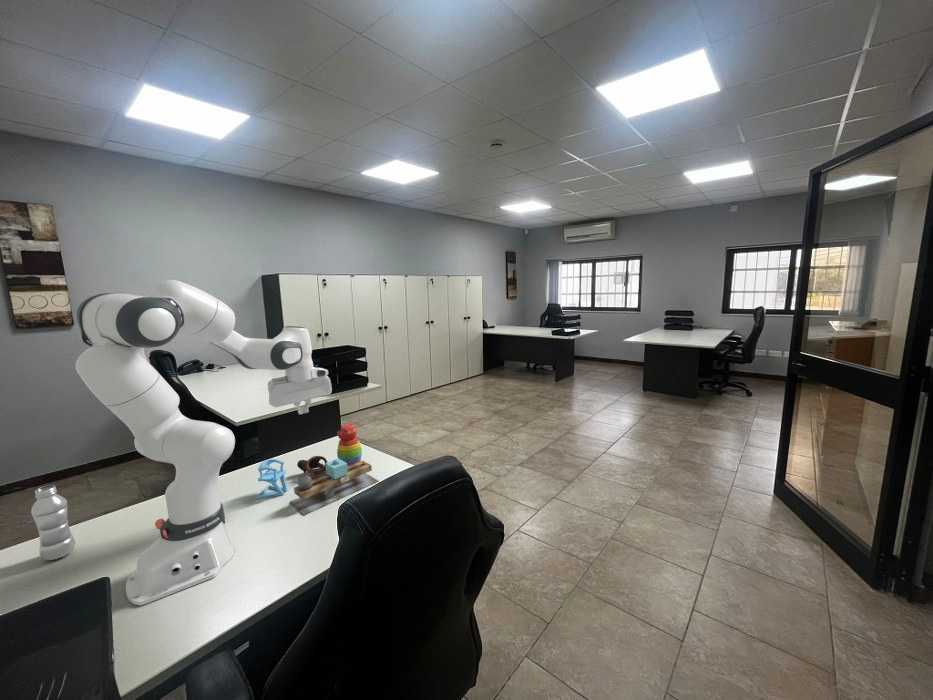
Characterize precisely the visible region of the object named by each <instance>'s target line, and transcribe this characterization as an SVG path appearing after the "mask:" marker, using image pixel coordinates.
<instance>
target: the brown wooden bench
mask: <svg viewBox="0 0 933 700" xmlns="http://www.w3.org/2000/svg"><path fill="white" fill-rule="evenodd" d="M372 469H373V468H372V465H371V464H369V462H368V463H367V462H366V461H364V460H361V461H360V462H358V463H355V464H353V465H350V466H348V474H347V475H344V476H342V477H340V478H337V479H333V478H332V479H331V477H330V476H329V475H327V474H326V475H323V476H322V475H321V476H319V477H316V478H314V479H313V480H311V477H309V476H302V477H299V479H298V480H297V484H298V485H297V486H295V487H293V491H294V492H293V493H294V494H295V495H296V496H298V497H297V498H295V499H292V500H290V501H289V504H290V505H291V506H293V507H294V509H296V510H297V512H298V511H299V513H301V515H303V516H306V515H308V514H311V513H313V512H315V511H317V510H319V509H322V508H324V507H326V506H328V505H330V504H333V503H335V502H337V501H340V500H341V499H340V498H342V497H344V498H346V497H348V496H350V495H352V494H355V493H357V492H359V491H361V490H363V489H366V488H368V487H370V486H372V485H374V484H377V483H378V482H379V481H380V480H378V479H376V478H375V477H373V476H371V475H369V474H368V473H369V472H371V471H373V470H372ZM342 499H343V498H342ZM336 500H337V501H336Z"/></svg>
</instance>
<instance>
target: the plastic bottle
mask: <svg viewBox="0 0 933 700" xmlns="http://www.w3.org/2000/svg"><path fill="white" fill-rule="evenodd" d="M57 493H58V490H57V488H56V485H55V484H50V485H45V486H41V487H39V488H36V489H35V490H34V494H35V496H34V497H35V499H36V501H35V502H34V503H33V505H32V507H31V510H30V514H31V516H32V519H33V520H34V522H35V525H36V527H37V530H38V535H39V547H38V548H39V550H38V551H39V553H38V554H39V556H40V558H41V559H42V560H43V561H46V560H52V561H55V559H56V560H59V559H61V557H62V558H65V556H68V555H69V554H71V553H72V552H73V551H74V549H75V548H76V540H75V538H74V535H73V534H72V531H71V528H70V526H69V520H68V519H69V518H68V501H67V499H66V498H65V497H63V496H61V495H59V494H57ZM67 554H68V555H67ZM58 558H59V559H58Z"/></svg>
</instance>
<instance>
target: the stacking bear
mask: <svg viewBox="0 0 933 700" xmlns="http://www.w3.org/2000/svg"><path fill="white" fill-rule="evenodd" d="M357 433H358V432H357V428H356V427H355V426H354V425H353V423H351V422H349V424H345V425H343V426H341V427H340V429H339V430H338V431H337V433H336V434H337V437H338V439H339V441H338V445H337V450H336V451H337V453H336V455H337V459H338V458H339V459H340V460H342V461H344V462H346V463H347V467H348V466H350V465H353V464H355V463H358V462H360V461H362V454H363V452H362V445H361V442H360V440H359V439H358V437H357Z"/></svg>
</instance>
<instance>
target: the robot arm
mask: <svg viewBox="0 0 933 700" xmlns="http://www.w3.org/2000/svg"><path fill="white" fill-rule="evenodd" d="M76 321H77V324H78V327H79V329H80V334H81V340H82V342H83V343H84V344H85V345H87V346H89V347H88V348H87V349H85V350H84V351H83V352H82V353H81V354H80V355H79V356H78V357H77V359H76V361H75V370H76V372H77V374H78V375H79V377H80V379H81V380H82V382H83V383H84V384H85V386H86V387H87V388H88V389H89V391H90V392H91V393H92V394H93V395H94V396H95V397H96V398H97V399H98V401H100V402H101V403H102V404H103V405H104V406H105V407H106V408H107V409H109V411H111V412H112V413H113V415H115V417H117V418H118V419H119V420H120V421H121V422H122V423H124V424H125V426H126V427H127V428H128V429H129V430H130V432H131V433H132V435H133V437H134V439H133V440H134V441H133V442H134V444H133V445H134V447H135V450H136V451H137V452H138V453H139V454H141V455H142V456H144V457H146V458H148V459H150V460H152V461H156V462H160V463H165V464H166V463H167V464H172V465H173V466H174V467H175V476H174V477H175V479H174V480H173V481H172V482H171V483H170V484H169V485H168V486H167V487H166V490H165V493H164V496H165V503H166V508H167V515H168V518H167V519H166V520H165V519H164V518H159V519H157V520H156V521H155V523H154V526H155V528H156V529H157V530H159V533H160V536H159V537H158V538H157V539H156V540H155V541H154V542H152V544H151V545H150V546H148V547H147V548H146V550H144V551H143V552H142V553H141V554H140V555H139V558H137V559H138V561H137V564H136V567H135V568H136V569H135V570H134V572H132V573H131V574H130V575H129V577H128V578H127V580H126V583H125V595H126V598H127V600H128V601H129V602H130V603H131V604H133V605H136V606H144V605H147V604H149V603H151V602H154V601H157V600H160V599H162V598H165V597H167V596H169V595H173V594H175V593H177V592H180V591H183V590H185V589H188V588H191V587H193V586H195V585H196V586H197V585H198V584H201V583H204V582H206V581H209V580H211V579H214V578H215V577H216V576H217V575H218V574H219V573H220V571H221V569H222V568H223V567H224V565H225V564H227V563H228V562H229V561H230V560H231V558H232V557H233V556H234V553H235V546H234V544H232V541H231V539H230V537H229V535H228V531H227V529H226V525H225V524H226V512H225V507H224V505H223V503H222V501H221V497H220V495H221V494H220V488H219V487H220V486H219V485H220V484H219V476H220V470H221V467H222V466H223V464H224V463H225V462H226V461H227V460H228V459H229V458H230V457H231V456H232V454H233V451H234V449H235V444H236V437H235V435H234V432H233V431H232V430H231V429H229V428H228V427H226V426H224V425H221V424H219V423H217V422H212V421H205V420H196V419H191V418H189V417H187V416H185V415H183V414H182V412H181V411H180V408H179V405H180V400H181V398H180V396H179V394H178V393H177V392H176V391H175V389H173V387H172V386H171V385H170V384H169V383H168V382H167V380H166V379H165V378H164V377H163V376H162V375H161V374H160V373H159V371H158V370H156V368H155V367H154V366H153V365H152V364H150V362H149V360H148V359H147V356H146V354H145V349H151V348H152V349H153V348H157V347H158V348H159V347H161V346H164V345H167V344H168V343H170V342H171V341H172V340H173V339H174V338H176V336H177V335H178V334H179V331H181V332H183V333H185V334H187V335H189V336H191V337H194V338H197V339H199V340H201V341H204V342H208V343H210V344H211V345H213V346H216V347H217V348H219V349H221V350H222V351H225V352H226V353H228V354H230V355H231V356H233V357H234V358H235V359H236V361H237V362H238V363H239V365H241V366H242V367H243V368H245V369H249V370H270V371H284V375H285V376H281V377H274V378H272V379H271V380H269V381H268V383H267V391H268V403H269V405H271V406H272V407H274V408H279V407H284V406H288V405H292V404H293V406H294V407H295V408H296V409H297V413H298V415H303V414H307V413H309V412H310V411H309V408H310V406H311V404H312V400H313V399H317V398H321V397H325V396H330V395H331V394H332V391H333V388H332V383H331V382H332V381H331V378H330V377H329V376H328V375H329V370H328V369H326V368H323V367H318V366H314V361H313V359H312V353H313V348H312V340H311V336H310V331H309V330H308V328H306V327H304V326H297V325H296V326H294V325H293V326H292V325H286V326H283V328H282V331H281V332H280V333H279V334H278V335H277V336H275V337H273V338H258V337H246V336H243V335H242V334H240V333H239V332H237V331H235V330H234V328H235V325H236V315H235V311H234V310H232V308H231V307H230V306H228V305H227V304H226V303H225V302H223V301H222V300H220V299H219V298H216V297H215V296H213V295H211V294H210V293H208V292H206V291H204V290H202V289H200V288H198V287H195V286H193V285H191V284H188V283H185V282H184V281H180V280H177V279H167V280H163V281H160V282H159V283H158V284H155V286H153V288H152V289H151V290H150V291H149V294H147V295H146V296H144V295H137V294H131V293H111V292H104V293H99V294H96V295H92V296H90V297H88V298H85V300H83V301H82V302H81V303H80V304H79V306H78V308H77V310H76ZM301 402H304V406H303V407H301Z"/></svg>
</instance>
